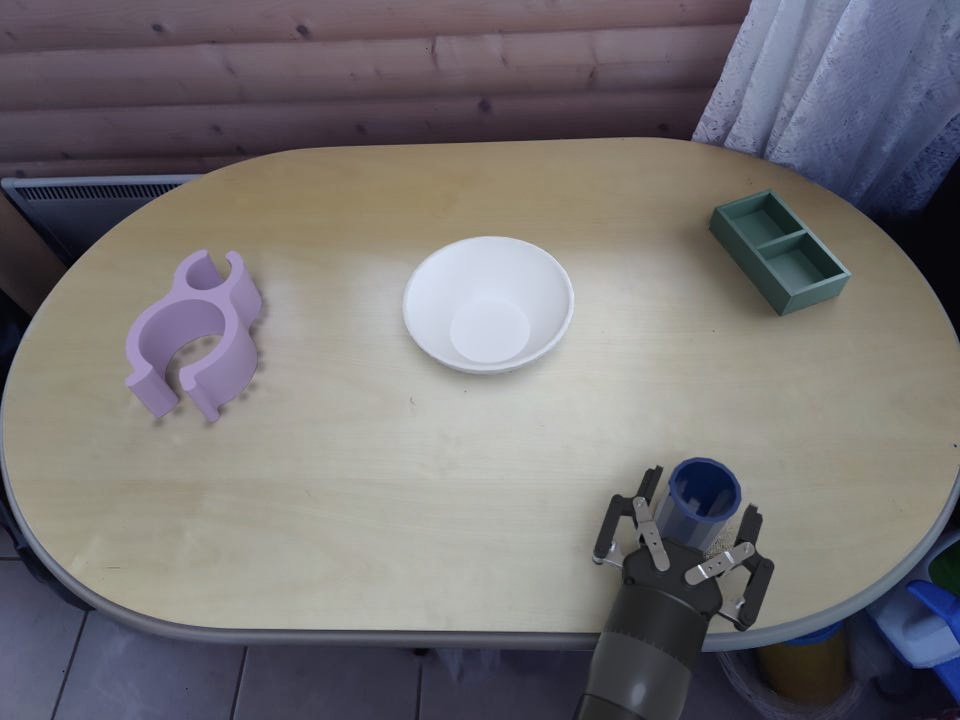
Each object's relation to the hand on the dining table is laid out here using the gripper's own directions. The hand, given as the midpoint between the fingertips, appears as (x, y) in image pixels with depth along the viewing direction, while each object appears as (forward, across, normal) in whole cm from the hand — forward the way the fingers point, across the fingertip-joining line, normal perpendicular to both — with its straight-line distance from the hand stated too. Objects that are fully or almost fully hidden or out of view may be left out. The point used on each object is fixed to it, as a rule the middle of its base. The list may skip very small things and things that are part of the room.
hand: (704, 487), depth 62 cm
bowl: (+12, +28, +8) cm, 32 cm away
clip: (-4, +58, +8) cm, 59 cm away
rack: (+38, +1, +8) cm, 39 cm away
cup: (-1, 0, +8) cm, 8 cm away
